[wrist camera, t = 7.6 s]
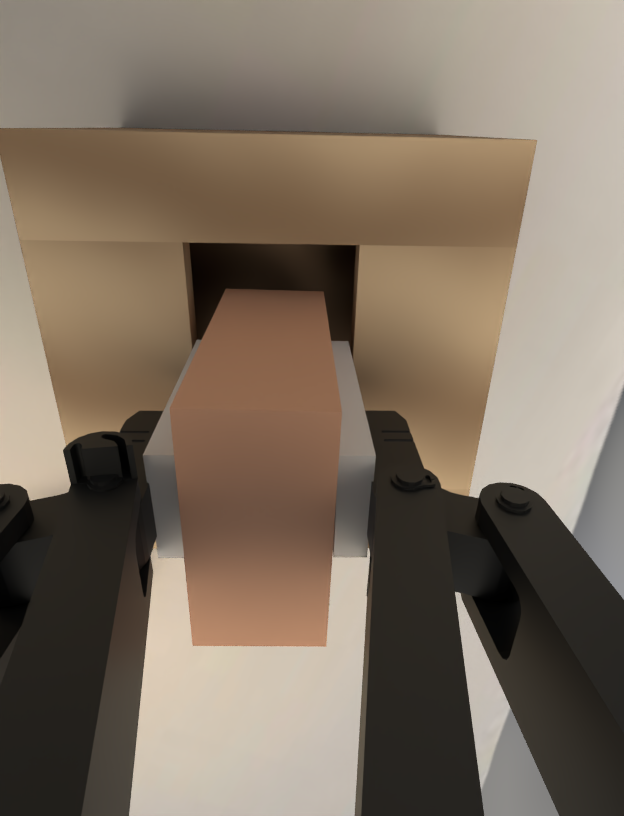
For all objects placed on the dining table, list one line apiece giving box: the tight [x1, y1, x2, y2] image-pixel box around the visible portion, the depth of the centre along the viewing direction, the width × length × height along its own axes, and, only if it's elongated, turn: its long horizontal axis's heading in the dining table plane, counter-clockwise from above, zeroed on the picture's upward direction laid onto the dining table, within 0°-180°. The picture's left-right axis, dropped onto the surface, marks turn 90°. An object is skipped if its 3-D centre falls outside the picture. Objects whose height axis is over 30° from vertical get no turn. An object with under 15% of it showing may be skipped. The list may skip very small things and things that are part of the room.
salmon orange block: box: [169, 289, 342, 646], centre depth 14 cm, size 6×3×8 cm, turn 178°
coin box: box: [0, 128, 537, 548], centre depth 22 cm, size 14×14×11 cm
